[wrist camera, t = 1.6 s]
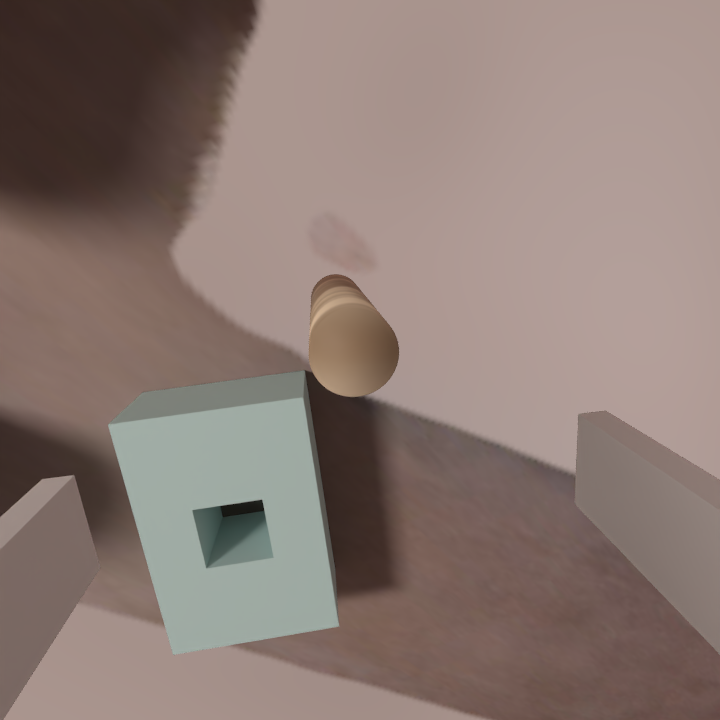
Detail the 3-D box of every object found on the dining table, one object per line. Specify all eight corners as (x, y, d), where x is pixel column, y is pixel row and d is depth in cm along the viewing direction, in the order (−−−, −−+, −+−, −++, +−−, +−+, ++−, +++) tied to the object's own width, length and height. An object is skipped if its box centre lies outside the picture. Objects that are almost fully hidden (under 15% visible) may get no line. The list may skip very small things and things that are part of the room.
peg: (307, 277, 33) (302, 315, 18) (357, 271, 33) (394, 303, 18) (314, 326, 34) (315, 402, 19) (363, 320, 34) (402, 390, 19)
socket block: (142, 392, 34) (108, 424, 28) (304, 370, 35) (303, 397, 29) (193, 592, 39) (172, 654, 33) (335, 569, 40) (339, 626, 34)
